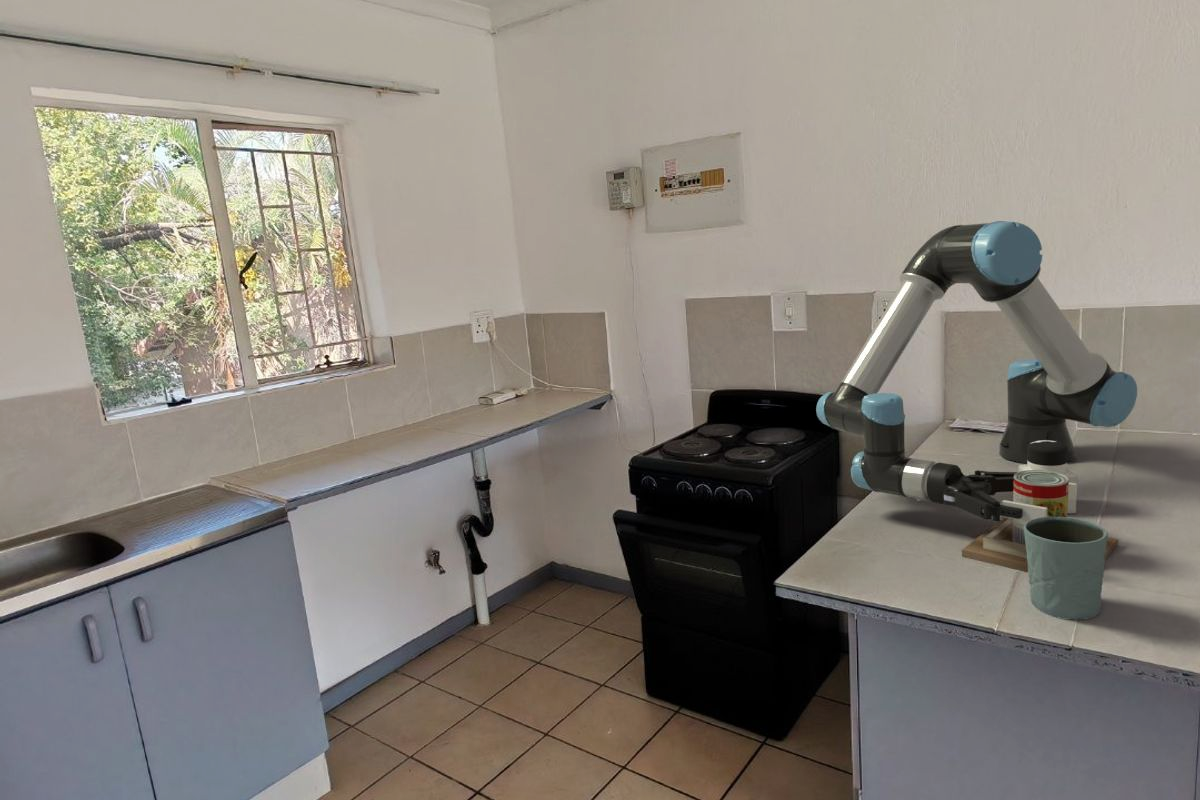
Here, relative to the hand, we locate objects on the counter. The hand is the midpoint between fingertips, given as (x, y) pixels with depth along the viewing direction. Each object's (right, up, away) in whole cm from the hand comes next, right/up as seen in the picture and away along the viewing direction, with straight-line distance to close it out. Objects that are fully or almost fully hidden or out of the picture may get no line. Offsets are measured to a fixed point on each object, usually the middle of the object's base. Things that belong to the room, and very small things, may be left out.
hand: (1062, 503), depth 121 cm
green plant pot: (-8, -13, -13) cm, 20 cm away
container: (+11, -4, +22) cm, 25 cm away
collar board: (-1, -9, +4) cm, 10 cm away
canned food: (-1, -8, +4) cm, 9 cm away
